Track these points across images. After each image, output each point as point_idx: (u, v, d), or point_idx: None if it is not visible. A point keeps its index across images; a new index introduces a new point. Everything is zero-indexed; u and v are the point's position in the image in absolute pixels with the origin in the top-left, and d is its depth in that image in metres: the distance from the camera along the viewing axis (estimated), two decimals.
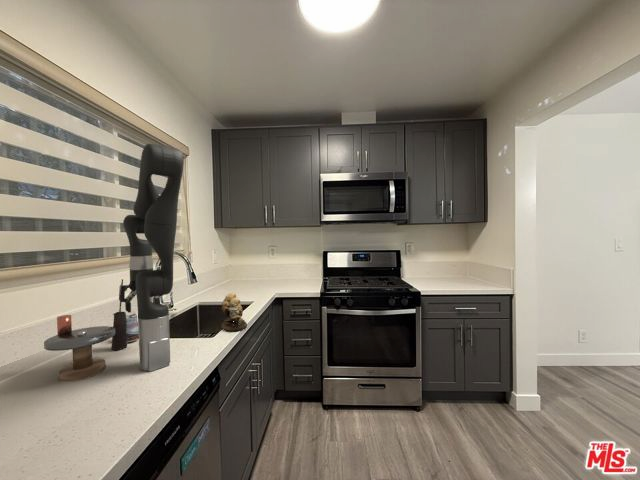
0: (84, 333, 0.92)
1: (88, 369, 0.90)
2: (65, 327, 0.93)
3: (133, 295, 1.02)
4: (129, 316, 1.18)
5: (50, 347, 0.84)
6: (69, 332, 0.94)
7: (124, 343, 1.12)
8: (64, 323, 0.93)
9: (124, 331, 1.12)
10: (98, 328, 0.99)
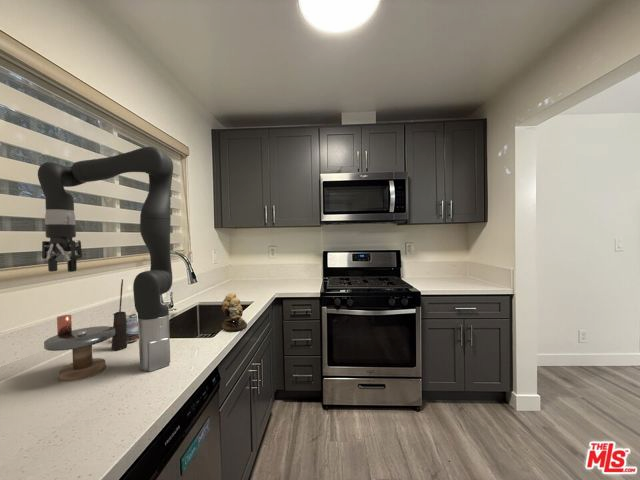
0: (84, 333, 0.92)
1: (88, 369, 0.90)
2: (65, 327, 0.93)
3: None
4: (129, 316, 1.18)
5: (50, 347, 0.84)
6: (69, 332, 0.94)
7: (124, 343, 1.12)
8: (64, 323, 0.93)
9: (124, 331, 1.12)
10: (98, 328, 0.99)
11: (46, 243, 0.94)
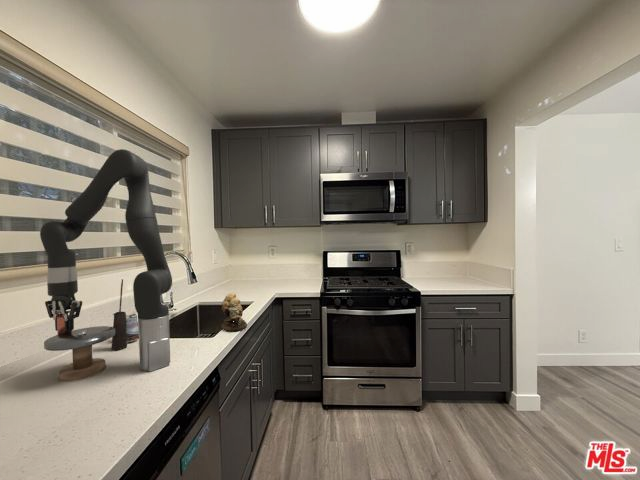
0: (84, 333, 0.92)
1: (88, 369, 0.90)
2: None
3: None
4: (129, 316, 1.18)
5: (50, 347, 0.84)
6: (69, 332, 0.94)
7: (124, 343, 1.12)
8: (64, 323, 0.93)
9: (124, 331, 1.12)
10: (98, 328, 0.99)
11: (49, 302, 0.95)
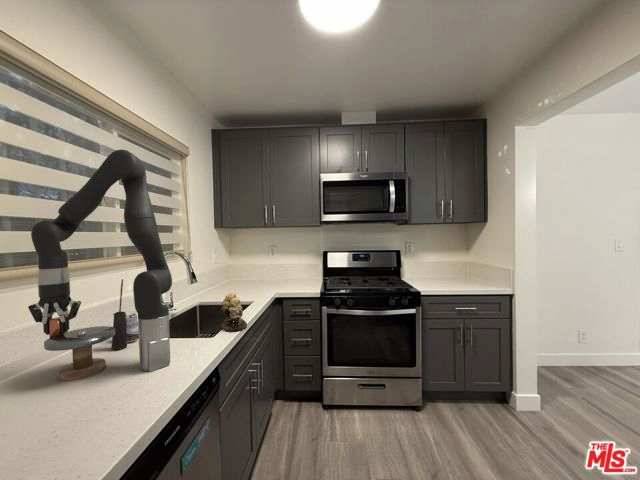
0: (85, 333, 0.93)
1: (88, 369, 0.90)
2: (60, 329, 0.91)
3: None
4: (129, 316, 1.18)
5: (60, 347, 0.84)
6: (63, 334, 0.92)
7: (124, 343, 1.12)
8: (59, 325, 0.91)
9: (124, 331, 1.12)
10: (91, 328, 0.99)
11: (33, 306, 0.89)
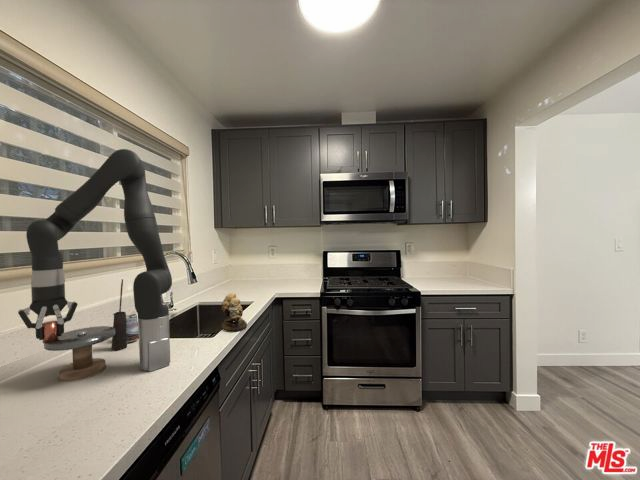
0: (86, 332, 0.93)
1: (88, 369, 0.90)
2: (56, 332, 0.88)
3: None
4: (129, 316, 1.18)
5: (82, 344, 0.86)
6: (58, 338, 0.89)
7: (124, 343, 1.12)
8: (56, 328, 0.88)
9: (124, 331, 1.12)
10: (77, 331, 0.97)
11: (24, 311, 0.83)
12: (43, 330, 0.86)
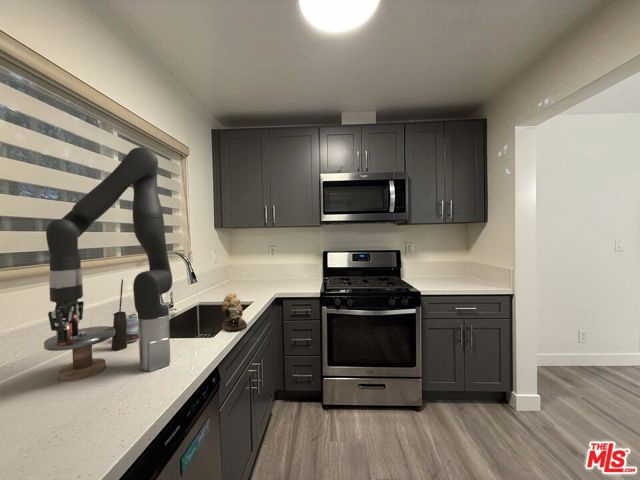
0: None
1: (88, 369, 0.90)
2: None
3: None
4: (129, 316, 1.18)
5: (111, 334, 0.94)
6: None
7: (124, 343, 1.12)
8: None
9: (124, 331, 1.12)
10: (57, 337, 0.90)
11: None
12: None
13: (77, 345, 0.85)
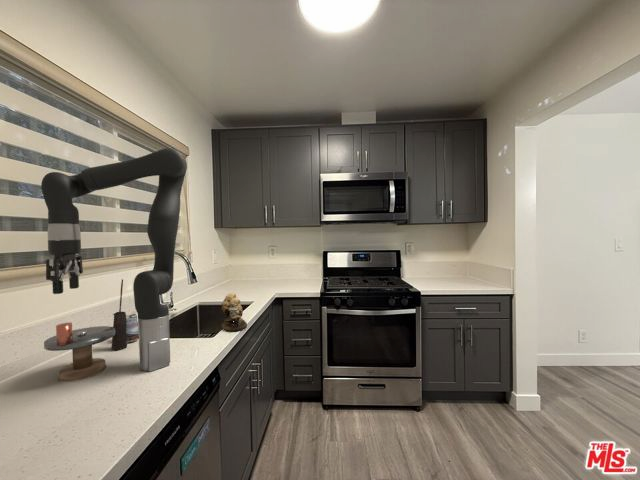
0: None
1: (88, 369, 0.90)
2: None
3: None
4: (129, 316, 1.18)
5: (111, 334, 0.94)
6: None
7: (124, 343, 1.12)
8: None
9: (124, 331, 1.12)
10: (57, 337, 0.90)
11: None
12: (64, 332, 0.84)
13: (77, 345, 0.85)
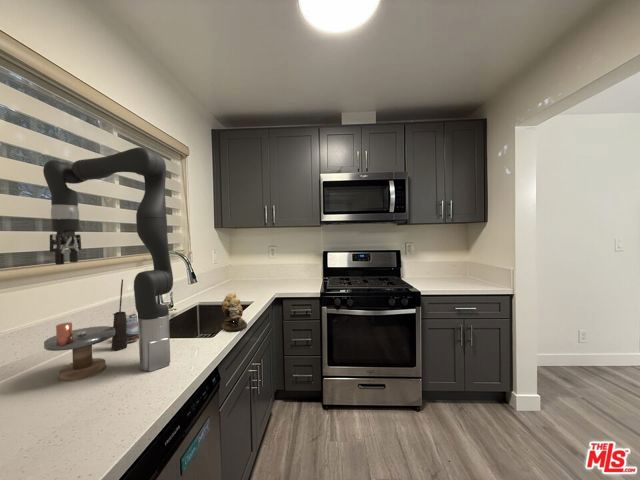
0: None
1: (88, 369, 0.90)
2: None
3: None
4: (129, 316, 1.18)
5: (111, 334, 0.94)
6: None
7: (124, 343, 1.12)
8: None
9: (124, 331, 1.12)
10: (57, 337, 0.90)
11: None
12: (64, 332, 0.84)
13: (77, 345, 0.85)
